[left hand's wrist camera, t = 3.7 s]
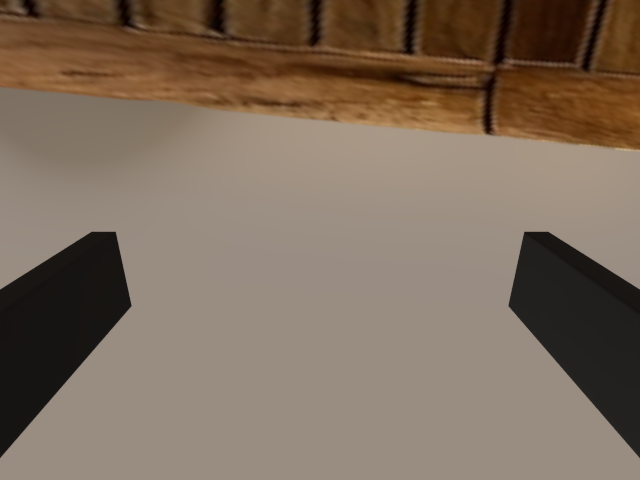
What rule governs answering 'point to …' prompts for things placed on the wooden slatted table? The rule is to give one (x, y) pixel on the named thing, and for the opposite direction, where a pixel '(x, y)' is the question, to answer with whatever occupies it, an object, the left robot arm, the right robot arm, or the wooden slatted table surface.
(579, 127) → the wooden slatted table surface
